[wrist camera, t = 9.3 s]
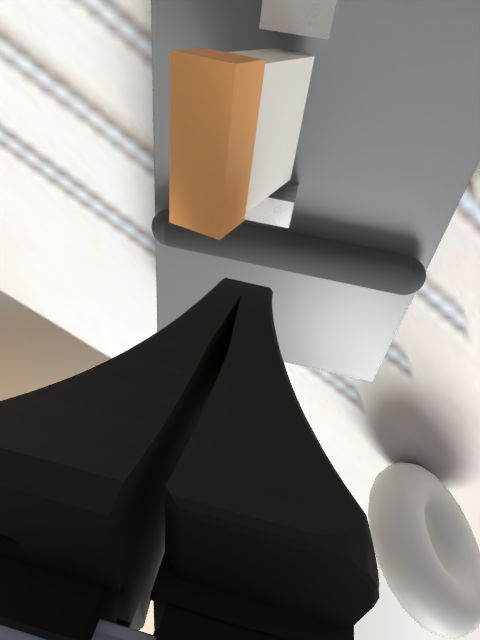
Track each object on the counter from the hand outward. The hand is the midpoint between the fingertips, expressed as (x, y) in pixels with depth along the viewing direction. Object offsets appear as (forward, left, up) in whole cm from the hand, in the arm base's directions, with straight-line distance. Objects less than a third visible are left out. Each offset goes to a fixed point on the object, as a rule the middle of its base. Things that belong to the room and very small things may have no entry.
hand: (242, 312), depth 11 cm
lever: (0, -4, -6) cm, 7 cm away
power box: (-1, -2, -10) cm, 10 cm away
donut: (-14, +19, -11) cm, 26 cm away
